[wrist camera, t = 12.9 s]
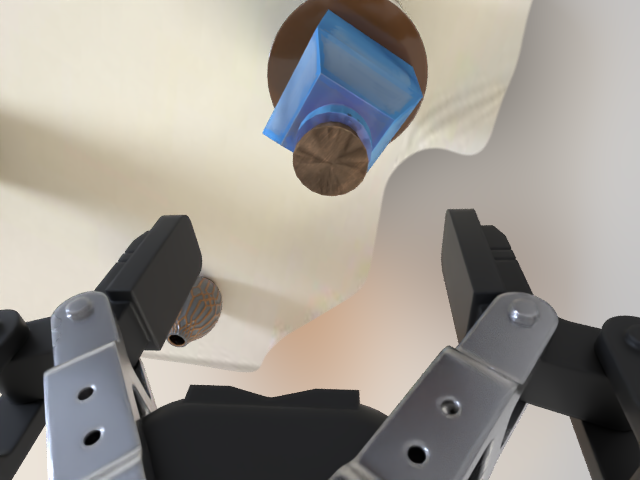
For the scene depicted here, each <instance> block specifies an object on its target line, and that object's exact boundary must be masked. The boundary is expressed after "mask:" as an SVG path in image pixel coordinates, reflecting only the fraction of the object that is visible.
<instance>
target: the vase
mask: <svg viewBox="0 0 640 480" xmlns="http://www.w3.org/2000/svg"><path fill="white" fill-rule="evenodd" d="M221 310H222V296H221V293H220V291H219V289H218V288H217V286H216V285H215V284H214V283H213V282H211V281H210V280H208V279H206V278H203V277H197V279H196V281H195V283H194V285H193V287H192V289H191V291H190V293H189V295H188V297H187V299H186V301H185V303H184V305H183V307H182V309H181V311H180V313H179V315H178V317H177V319H176V321H175V323H174V325H173V326H172V328H171V330H170V332H169V334H168V336H167V338H166V339H167V341H168V342H169V343H170V344H171V345H173V346H175V347H184V346H186V345H187V344H188V343H189V342H191V341H194V340H196V339H199V338H201V337H203V336H205V335H206V334H207V333H208V332H210V331H211V330H212V328H213V327H214V326H215V324H216V323H217V321H218V319H219V317H220V314H221Z"/></svg>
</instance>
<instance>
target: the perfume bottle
mask: <svg viewBox="0 0 640 480" xmlns="http://www.w3.org/2000/svg"><path fill="white" fill-rule="evenodd" d="M422 97H423V94H422V92H421V89H420V86H419V83H418V80H417V77H416V75H415V72H414V69H413V67H412V66H411V65H409V64H408V63H406V62H405V61H403V60H402V59H400V58H399V57H398V56H396V55H395V54H393V53H392V52H390V51H389V50H387V49H386V48H384V47H383V46H381V45H380V44H378V43H377V42H376V41H374V40H373V39H371V38H370V37H368V36H367V35H365V34H364V33H362V32H361V31H359V30H358V29H356V28H355V27H353V26H352V25H351V24H349V23H348V22H346V21H345V20H343V19H342V18H340V17H339V16H337V15H336V14H334V13H333V12H331V11H330V10H329V9H328V11H327V12H326V14H325V15H324V17H323V18H322V20H321V21H320V23H319V25H318V26H317V28H316V30H315V32H314V34H313V36H312V38H311V40H310V42H309V43H308V45H307V47H306V49H305V51H304V53H303V55H302V57H301V59H300V61H299V63H298V65H297V67H296V69H295V71H294V73H293V74H292V76H291V78H290V80H289V82H288V84H287V86H286V88H285V90H284V92H283V94H282V96H281V98H280V100H279V102H278V104H277V106H276V107H275V109H274V111H273V113H272V115H271V117H270V119H269V121H268V123H267V125H266V127H265V129H264V131H263V134H264V135H266V136H267V137H269V138H270V139H272V140H274V141H275V142H277V143H278V144H280V145H281V146H283V147H285V148H287V149H288V150H290V151H292V152H293V167H294V170H295V173H296V175H297V177H298V178H299V180H300V181H301V182H302V184H303V185H305V186H306V187H307V188H308V189H310V190H311V191H313V192H316V193H318V194H321V195H327V196H337V195H342V194H346V193H348V192H350V191H352V190H354V189H355V188H356V187H357V186H358V185H359V184H360V183H361V182H362V181H363V179H364V177H365V175H366V173H367V172H368V171H369V169H370V168H371V167H372V165H373V164H374V162H375V161H376V160H377V158H378V157H379V156H380V154H381V153H382V152H383V150H384V149H385V148H386V146H387V145H388V143H389V142H390V141H391V139H392V138H393V137H394V135H395V134H396V133H397V131H398V130H399V129H400V127H401V126H402V124H403V123H404V122H405V120H406V119H407V118H408V116H409V115H410V114H411V112H412V111H413V110H414V108H415V107H416V105H417V104H418V103H419V101H420V100H421V99H422Z"/></svg>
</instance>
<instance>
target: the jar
mask: <svg viewBox="0 0 640 480" xmlns="http://www.w3.org/2000/svg"><path fill="white" fill-rule="evenodd" d="M328 9H329V10H330V11H331V12H333V13H334V14H336V15H337V16H339V17H340V18H342V19H343V20H345V21H346V22H348V23H349V24H351V25H352V26H353V27H355V28H356V29H358V30H359V31H361V32H362V33H364V34H365V35H367V36H368V37H370V38H371V39H373V40H374V41H376V42H377V43H378V44H380V45H381V46H383V47H384V48H386V49H387V50H389V51H390V52H392V53H393V54H395V55H396V56H398V57H399V58H400V59H402V60H403V61H405V62H406V63H408V64H409V65H411V66H412V67H413V69H414V72H415V75H416V77H417V80H418V83H419V86H420V89H421V92H422V94H423V97H422V99H421V100H420V101H419V103H418V104H417V105H416V107H415V108H414V110H413V111H412V112H411V114H410V115H409V116H408V118H407V119H406V120H405V122H404V123H403V124H402V126H401V127H400V129H399V130H398V131H397V133H396V134H395V135H394V137H393V138H392V139H391V141H390V142H392V141H393V140H395V139H396V138H397V137H398V136H399V135H400V134H402V132H403V131H404V130H405V129H406V128H407V127H408V126H409V125H410V123H411V122H412V120H413V119H414V118H415V116H416V114H417V112H418V110H419V108H420V106H421V103H422V101H423V98H424V94H425V91H426V85H427V78H428V65H427V57H426V52H425V48H424V45H423V42H422V39H421V37H420V35H419V32H418V31H417V29H416V27H415V25H414V24H413V22H412V20H411V19H410V18H409V17H408V15H407V14H406V13H405V12H404V11H403V9H402V8H401V6H400V5H399V3H398V2H397V1H396V0H307V1H306V2H304V3H303V4H301V5H300V6H299V7H298V8H297V9H296V10H295V11H294V12H292V13H291V14H290V16H289V17H288V18H287V19H286V20H285V22H284V23H283V24H282V26H281V28H280V29H279V31H278V33H277V35H276V37H275V39H274V41H273V44H272V47H271V51H270V54H269V60H268V72H267V77H268V87H269V92H270V97H271V100H272V103H273V105H274V108H275V107H276V106H277V104H278V102H279V100H280V98H281V96H282V94H283V92H284V90H285V88H286V86H287V84H288V82H289V80H290V78H291V76H292V74H293V73H294V71H295V69H296V67H297V65H298V63H299V61H300V59H301V57H302V55H303V53H304V51H305V49H306V47H307V45H308V43H309V42H310V40H311V38H312V36H313V34H314V32H315V30H316V28H317V26H318V25H319V23H320V21H321V20H322V18H323V17H324V15H325V14H326V12H327V11H328ZM390 142H389V143H390ZM389 143H388V144H389Z"/></svg>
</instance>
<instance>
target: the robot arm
mask: <svg viewBox="0 0 640 480" xmlns="http://www.w3.org/2000/svg"><path fill="white" fill-rule="evenodd" d="M441 262H442V272H443V276H444V281H445V285H446V290H447V294H448V298H449V303H450V307H451V312H452V316H453V320H454V325H455V329H456V334H457V338H458V343H459V345H458V346H457V347H456V348H453V347H451V346H447V347H445V348H444V349H443V350H442V351H441V352H440V353H439V355H438V356H437V357H436V358H435V359H434V361H433V362H432V363H431V364H430V366H429V367H428V368H427V369H426V371H425V372H424V373H423V374H422V376H421V377H420V378H419V379H418V380H417V382H416V383H415V384H414V385H413V387H412V388H411V389H410V390H409V392H408V393H407V394H406V395H405V397H404V398H403V399H402V400H401V402H400V403H399V404H398V405H397V406H396V408H395V409H394V410H393V411H392V413H391V414H390V415H389V416H387V415H385V414H383V413H381V412H380V411H378V410H375V409H373V408H371V407H368V406H365V405H362V404H360V400H359V399H360V398H359V390H337V389H313V390H307V391H303V392H297V393H292V394H287V395H282V396H277V397H265V396H262V395H258V394H255V393H252V392H248V391H245V390H242V389H238V388H235V387H232V386H214V385H213V386H212V385H190V387H189V390H188V392H187V394H186V397H185V399H181V400H178V401H175V402H172V403H169V404H167V405H165V406H162V407H160V408H158V409H157V406H156V404H155V400H154V397H153V394H152V391H151V387H150V384H149V381H148V378H147V375H146V372H145V368H144V365H143V363H142V361H141V359H140V356H141V354H142V352H143V351H144V350H158V351H160V350H161V348H162V346H163V344H164V342H165V340H166V338H167V336H168V334H169V332H170V330H171V328H172V326H173V325H174V323H175V321H176V319H177V317H178V315H179V313H180V311H181V309H182V307H183V305H184V303H185V301H186V299H187V297H188V295H189V293H190V291H191V289H192V287H193V285H194V283H195V281H196V279H197V277H198V276H199V274H200V271H201V268H202V255H201V251H200V248H199V245H198V242H197V239H196V236H195V233H194V230H193V227H192V223H191V221H190V219H189V217H188V216H187V215H164V216H161V217H160V218H159V220H158V221H157V222H156V224H155V225H154V226H153V227H152V229H151V230H150V231H147V232H145V233H144V234H142V235H141V236H139V237H138V238H137V239H135V240H134V241H133V242H132V243H131V245H130V246H129V247H128V248H127V250H126V251H125V254H123V255H122V256H121V257H120V259H119V260H118V263H116V264H115V265H114V266H113V267H112V269H111V270H110V271H109V273H108V274H107V275H106V276H105V278H104V279H103V280H102V281H101V283H100V284H99V285H98V286H97V288H96V289H95V290H94V291H90V292H84V293H81V294H78V295H76V296H73V297H71V298H69V299H68V300H66V301H65V302H63V303H62V304H61V305H59V306H58V307H57V308H56V310H55V311H54V312H53V314H52V316H51V317H47V318H43V319H39V320H34V321H30V322H25V321H24V320H23V319H22V317H21V316H20V315H19V313H18V312H17V311H15V310H0V393H1V394H2V396H1V397H0V480H12V478H13V477H14V475H15V474H16V472H17V470H18V469H19V467H20V465H21V464H22V462H23V460H24V459H25V457H26V455H27V454H28V452H29V451H30V449H31V447H32V446H33V444H34V442H35V441H36V439H37V437H38V436H39V434H40V433H41V431H42V429H43V428H44V426H45V424H46V438H47V457H48V476H49V480H488V479H489V478H490V475H491V473H492V471H493V469H494V466H495V464H496V462H497V460H498V458H499V456H500V454H501V452H502V450H503V449H504V447H505V445H506V443H507V442H508V440H509V438H510V436H511V434H512V432H513V431H514V429H515V427H516V425H517V423H518V422H519V420H520V418H521V416H522V414H523V412H524V411H525V409H526V407H527V405H528V404H532V405H535V406H538V407H542V408H545V409H548V410H551V411H555V412H557V413H561V414H564V415H567V416H570V419H571V422H572V425H573V428H574V430H575V433H576V436H577V439H578V442H579V444H580V447H581V450H582V453H583V456H584V458H585V461H586V464H587V467H588V469H589V472H590V475H591V478H592V480H640V318H639V317H634V316H616V317H612V318H610V319H608V320H607V321H606V322H605V323H604V324H603V326H602V329H599V328H595V327H590V326H587V325H582V324H577V323H574V322H570V321H567V320H564V319H561V318H559V317H558V316H557V314H556V312H555V310H554V309H553V308H552V307H551V306H550V305H549V304H548V303H547V302H545V301H544V300H542V299H541V298H538V297H537V296H534V295H533V293H532V291H531V289H530V287H529V285H528V283H527V280H526V278H525V276H524V274H523V272H522V270H521V268H520V266H519V263H518V261H517V260H516V257H515V255H514V253H513V251H512V250H511V246H510V244H509V242H508V240H507V238H506V236H505V235H504V234H503V233H502V232H500V231H499V230H498V229H497V228H496V227H494V226H493V225H488V226H487V225H486V226H481V225H480V222H479V220H478V217H477V215H476V212H475V210H474V209H448V210H447V211H446V216H445V225H444V234H443V243H442V253H441Z"/></svg>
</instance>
